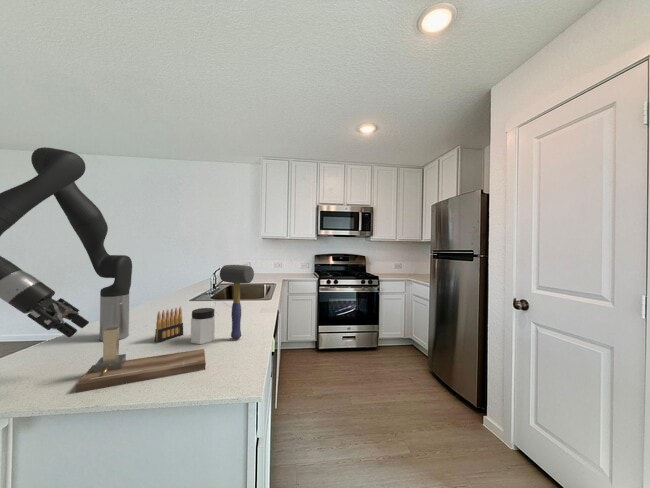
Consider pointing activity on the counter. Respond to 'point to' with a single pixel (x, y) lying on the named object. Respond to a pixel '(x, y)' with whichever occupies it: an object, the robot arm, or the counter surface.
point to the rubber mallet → (236, 291)
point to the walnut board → (144, 370)
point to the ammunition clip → (168, 325)
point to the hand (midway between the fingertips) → (80, 329)
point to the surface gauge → (110, 352)
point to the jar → (202, 326)
